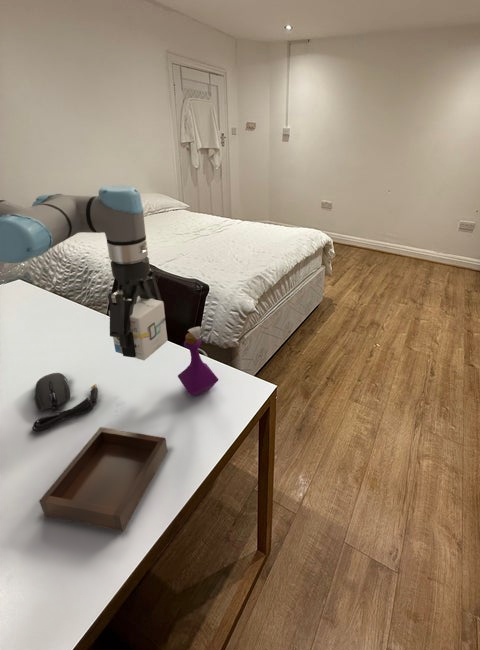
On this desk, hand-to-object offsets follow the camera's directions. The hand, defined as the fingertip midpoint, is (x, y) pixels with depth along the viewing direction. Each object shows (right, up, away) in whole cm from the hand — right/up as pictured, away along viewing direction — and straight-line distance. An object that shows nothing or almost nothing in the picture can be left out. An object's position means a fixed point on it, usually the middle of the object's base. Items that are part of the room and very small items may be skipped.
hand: (142, 342), depth 79 cm
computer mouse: (-16, -12, -3) cm, 21 cm away
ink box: (0, -1, 0) cm, 1 cm away
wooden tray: (+4, -20, -20) cm, 28 cm away
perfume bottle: (+13, -12, +2) cm, 18 cm away
